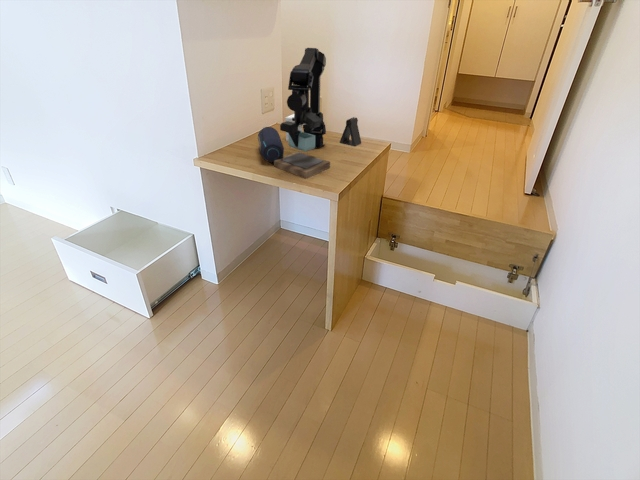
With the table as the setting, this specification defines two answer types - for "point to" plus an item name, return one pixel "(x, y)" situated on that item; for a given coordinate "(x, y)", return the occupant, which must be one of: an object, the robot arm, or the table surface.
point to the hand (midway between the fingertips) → (301, 144)
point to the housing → (303, 141)
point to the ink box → (289, 118)
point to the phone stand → (351, 133)
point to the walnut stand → (302, 164)
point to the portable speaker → (270, 144)
